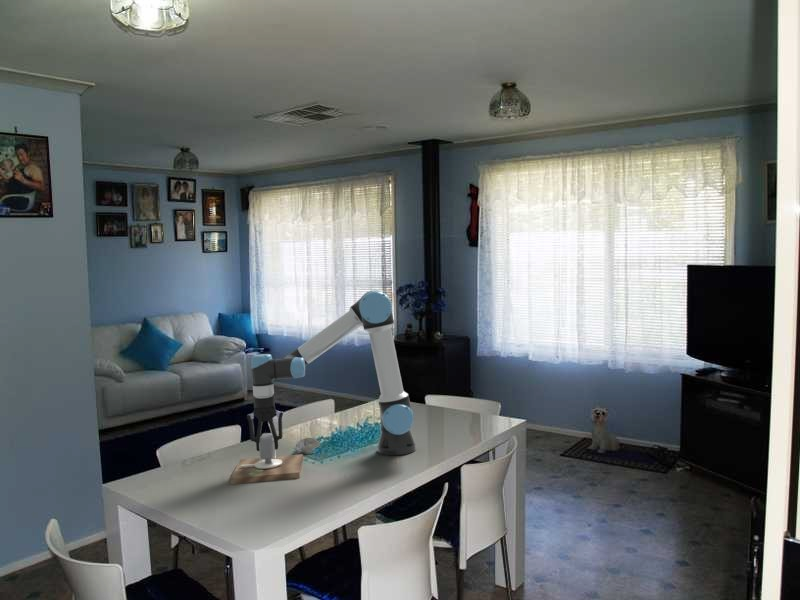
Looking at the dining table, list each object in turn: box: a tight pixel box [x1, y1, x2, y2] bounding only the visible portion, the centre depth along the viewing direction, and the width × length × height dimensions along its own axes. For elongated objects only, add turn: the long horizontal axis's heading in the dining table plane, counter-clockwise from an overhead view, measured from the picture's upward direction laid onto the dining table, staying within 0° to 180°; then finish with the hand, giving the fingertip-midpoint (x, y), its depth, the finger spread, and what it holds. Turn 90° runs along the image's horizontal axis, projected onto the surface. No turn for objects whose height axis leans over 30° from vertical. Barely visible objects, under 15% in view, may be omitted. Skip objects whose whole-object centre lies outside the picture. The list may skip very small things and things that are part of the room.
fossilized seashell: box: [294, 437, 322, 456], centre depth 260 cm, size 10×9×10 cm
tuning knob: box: [241, 432, 282, 469], centre depth 235 cm, size 15×10×11 cm, turn 96°
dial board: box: [229, 454, 304, 485], centre depth 235 cm, size 24×24×2 cm
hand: (268, 458), depth 235 cm, fingers closed on tuning knob, 4 cm apart
